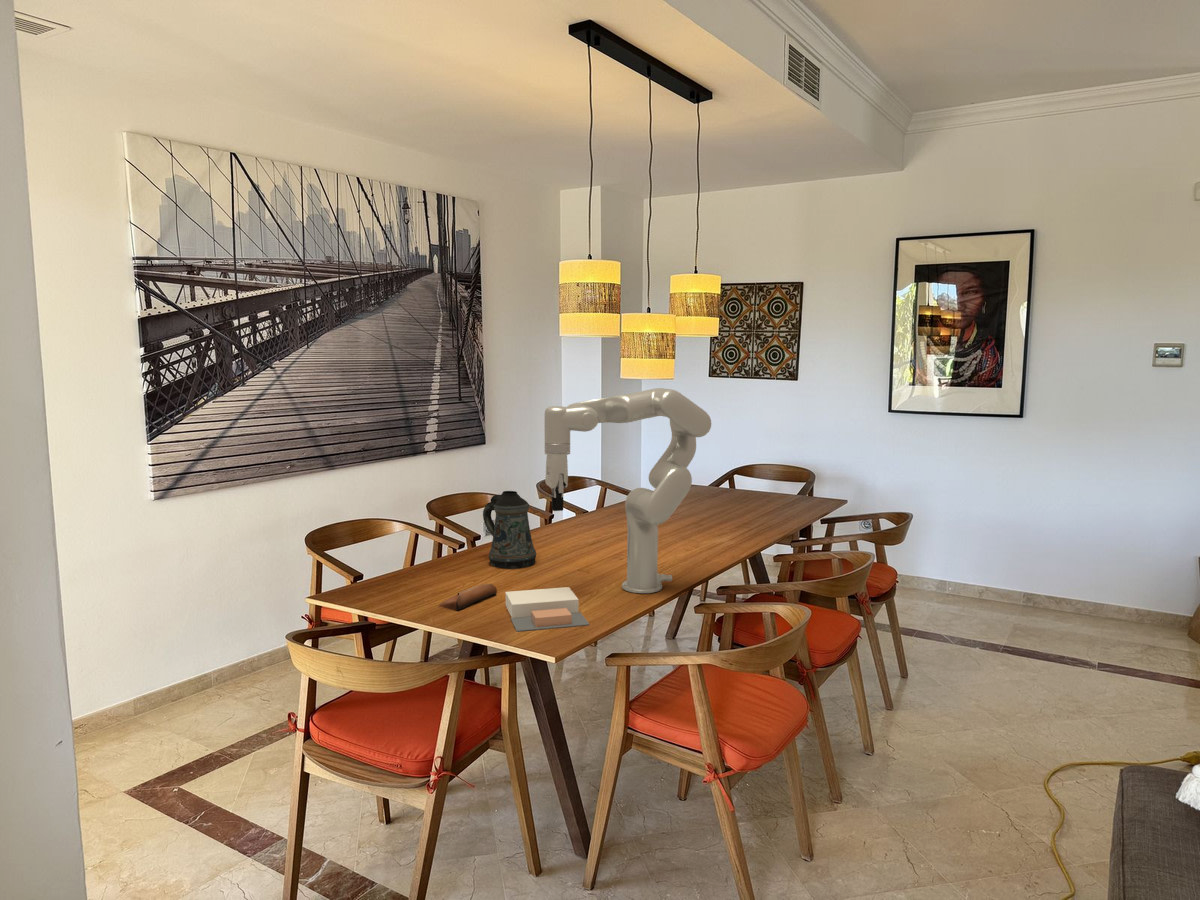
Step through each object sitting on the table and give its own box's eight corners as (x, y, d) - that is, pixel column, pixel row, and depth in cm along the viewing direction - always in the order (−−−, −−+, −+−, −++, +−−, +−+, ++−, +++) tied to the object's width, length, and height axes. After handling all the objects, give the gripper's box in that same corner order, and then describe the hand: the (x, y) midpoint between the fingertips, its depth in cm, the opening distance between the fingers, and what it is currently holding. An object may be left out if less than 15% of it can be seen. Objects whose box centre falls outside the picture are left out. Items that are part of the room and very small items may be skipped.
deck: (568, 600, 242) (568, 587, 242) (578, 612, 231) (578, 599, 230) (505, 605, 237) (505, 591, 237) (512, 618, 226) (512, 604, 225)
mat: (580, 613, 230) (580, 612, 230) (589, 625, 221) (589, 624, 221) (510, 619, 225) (510, 618, 225) (516, 631, 215) (516, 630, 215)
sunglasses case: (475, 590, 251) (483, 573, 248) (491, 604, 248) (499, 588, 246) (436, 606, 235) (444, 589, 233) (452, 622, 233) (461, 604, 230)
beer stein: (532, 570, 273) (532, 497, 270) (475, 568, 275) (474, 496, 271) (539, 557, 290) (539, 488, 286) (485, 555, 291) (484, 487, 288)
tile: (571, 614, 221) (571, 623, 221) (566, 607, 226) (566, 616, 227) (535, 618, 218) (535, 627, 218) (531, 611, 224) (531, 619, 224)
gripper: (539, 445, 243) (540, 505, 246) (550, 452, 229) (550, 516, 231) (564, 445, 245) (564, 504, 248) (575, 451, 231) (575, 514, 233)
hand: (557, 510), depth 240 cm, fingers closed
